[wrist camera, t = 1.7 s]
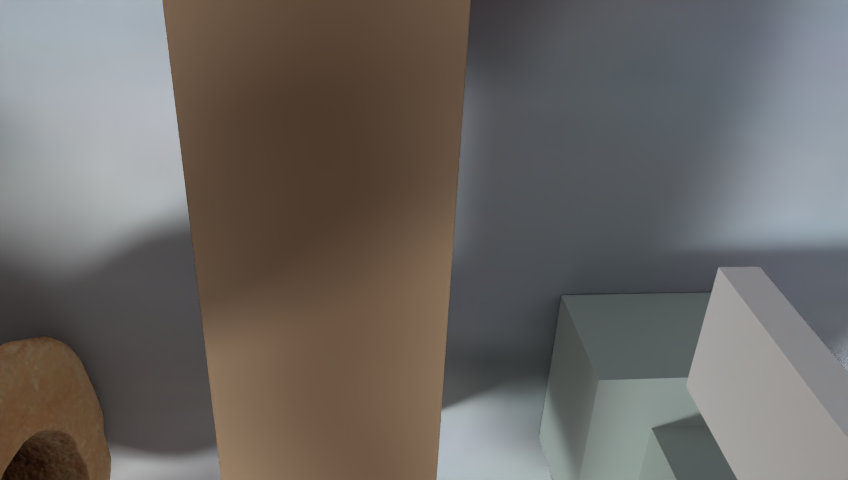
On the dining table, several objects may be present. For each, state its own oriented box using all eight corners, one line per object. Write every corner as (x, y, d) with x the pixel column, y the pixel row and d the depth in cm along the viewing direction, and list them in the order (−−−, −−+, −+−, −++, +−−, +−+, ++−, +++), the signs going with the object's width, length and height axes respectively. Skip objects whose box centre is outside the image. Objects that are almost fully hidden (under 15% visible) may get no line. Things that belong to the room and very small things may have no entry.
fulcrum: (539, 438, 27) (607, 659, 20) (561, 295, 24) (651, 499, 17) (704, 431, 28) (824, 644, 21) (746, 291, 25) (902, 487, 18)
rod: (264, 578, 22) (251, 726, 19) (172, -440, 11) (96, -539, 8) (406, 570, 22) (419, 714, 19) (455, -417, 11) (507, -504, 8)
